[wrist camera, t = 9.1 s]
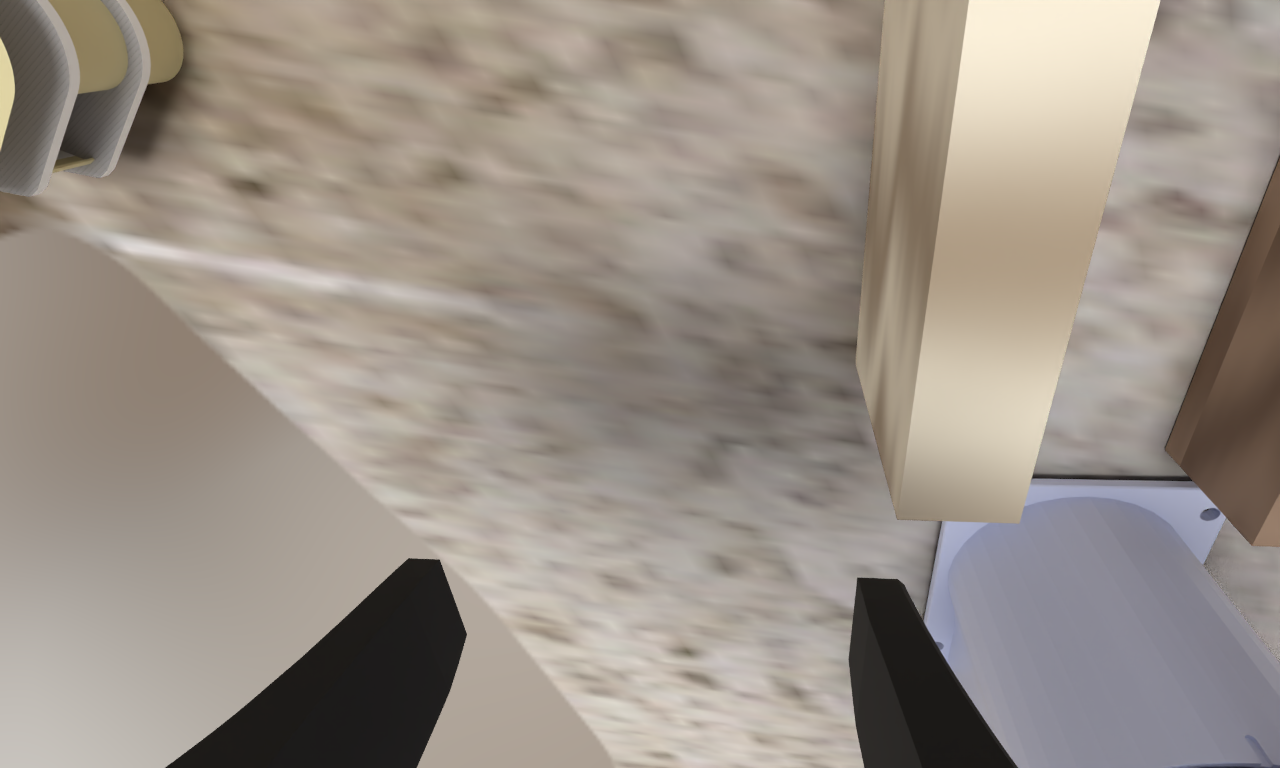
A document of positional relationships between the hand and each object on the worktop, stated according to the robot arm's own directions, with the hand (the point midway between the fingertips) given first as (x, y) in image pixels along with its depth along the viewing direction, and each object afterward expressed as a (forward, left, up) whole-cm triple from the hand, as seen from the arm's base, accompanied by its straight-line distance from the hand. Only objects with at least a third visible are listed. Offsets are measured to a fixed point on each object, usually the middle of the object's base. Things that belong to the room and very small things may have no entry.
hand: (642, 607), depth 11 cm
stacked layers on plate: (+10, +16, -11) cm, 22 cm away
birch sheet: (+5, -6, -11) cm, 13 cm away
